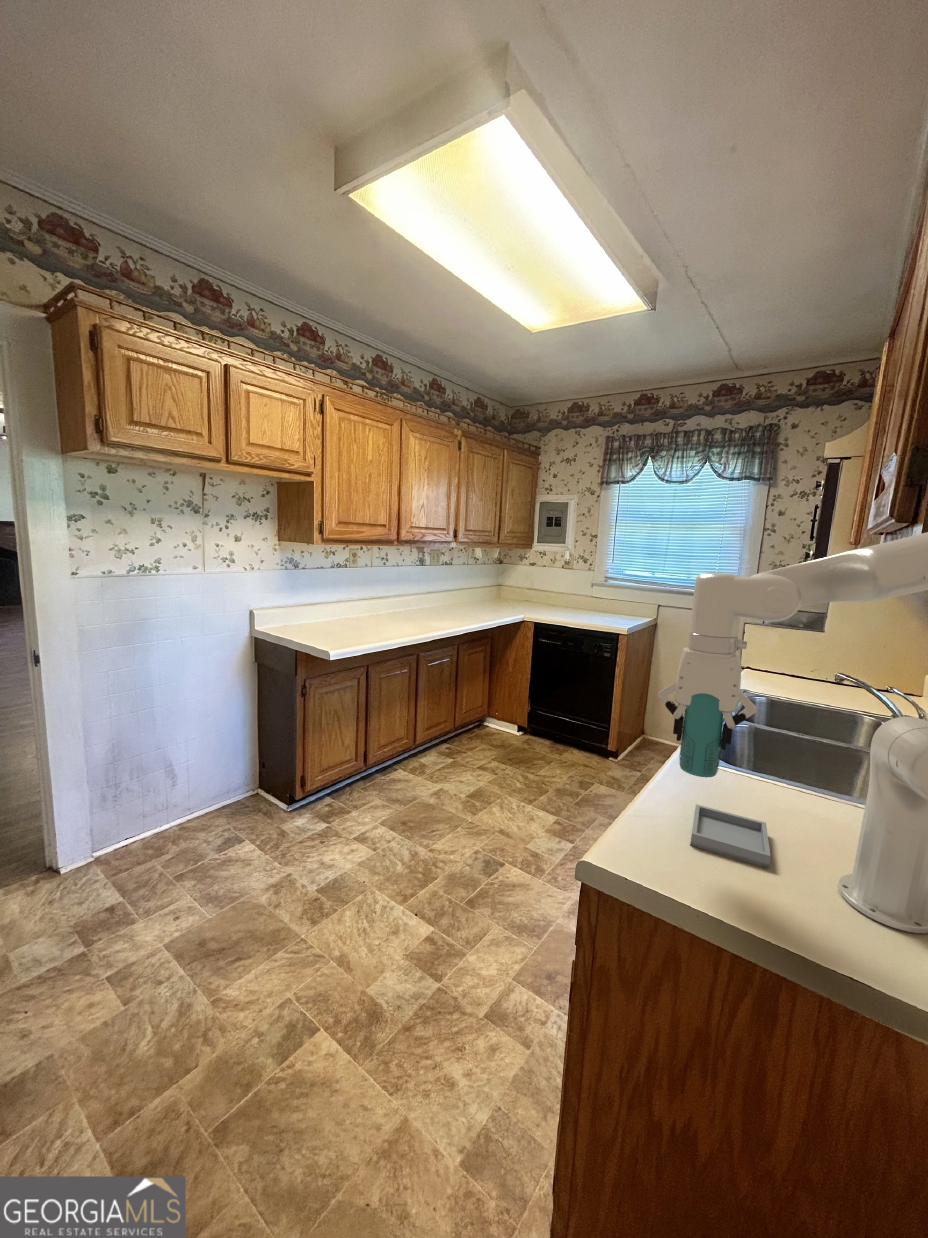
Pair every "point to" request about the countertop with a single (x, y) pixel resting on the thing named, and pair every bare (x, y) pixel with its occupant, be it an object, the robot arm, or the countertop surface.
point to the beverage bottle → (701, 736)
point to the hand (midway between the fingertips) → (700, 742)
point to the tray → (731, 836)
